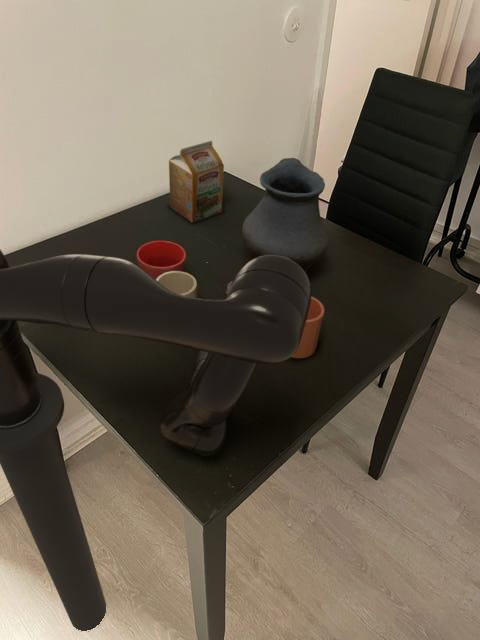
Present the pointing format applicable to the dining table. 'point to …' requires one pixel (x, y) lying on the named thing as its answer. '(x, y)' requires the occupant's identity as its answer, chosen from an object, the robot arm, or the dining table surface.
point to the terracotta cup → (311, 330)
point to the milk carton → (196, 182)
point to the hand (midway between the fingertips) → (240, 299)
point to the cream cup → (179, 283)
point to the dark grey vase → (288, 215)
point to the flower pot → (161, 257)
